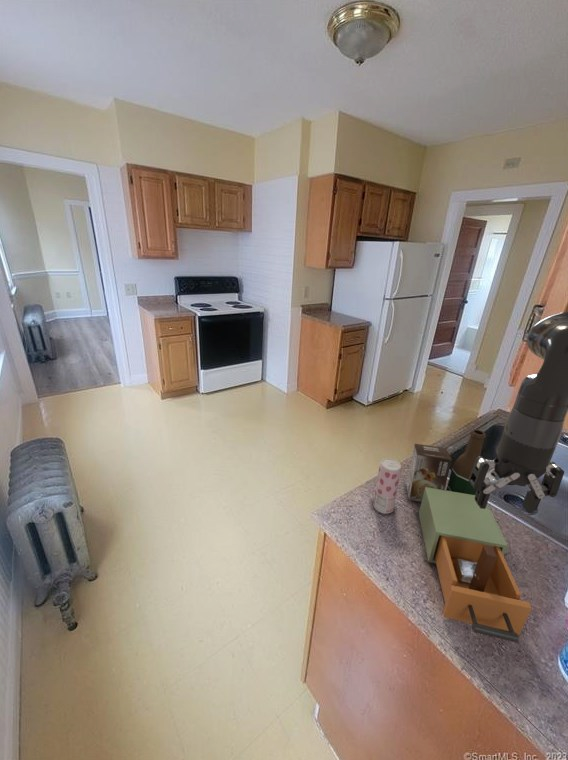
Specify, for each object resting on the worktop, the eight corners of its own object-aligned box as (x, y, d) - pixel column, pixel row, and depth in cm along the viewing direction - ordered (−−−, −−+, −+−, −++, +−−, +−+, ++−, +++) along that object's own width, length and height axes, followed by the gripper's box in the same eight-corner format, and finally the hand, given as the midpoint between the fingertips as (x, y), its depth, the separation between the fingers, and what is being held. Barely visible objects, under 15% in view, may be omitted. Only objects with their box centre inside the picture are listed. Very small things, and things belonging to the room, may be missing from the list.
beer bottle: (457, 490, 100) (476, 422, 91) (479, 507, 93) (502, 436, 84) (438, 496, 97) (456, 427, 88) (459, 514, 91) (481, 442, 82)
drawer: (530, 664, 57) (545, 636, 54) (449, 643, 60) (458, 615, 57) (492, 568, 74) (501, 543, 71) (430, 555, 77) (437, 531, 74)
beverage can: (397, 510, 92) (406, 467, 86) (382, 517, 89) (390, 472, 84) (383, 497, 96) (391, 455, 91) (368, 503, 94) (375, 460, 88)
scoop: (476, 570, 72) (491, 527, 68) (487, 604, 66) (505, 558, 61) (454, 566, 73) (467, 523, 68) (463, 598, 66) (479, 553, 62)
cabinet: (496, 576, 73) (508, 545, 70) (428, 562, 76) (436, 532, 73) (475, 524, 87) (484, 496, 84) (418, 514, 90) (425, 486, 87)
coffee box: (436, 491, 99) (447, 447, 93) (441, 506, 94) (453, 460, 88) (405, 486, 101) (414, 442, 95) (408, 500, 96) (417, 454, 90)
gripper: (497, 443, 52) (473, 519, 59) (591, 450, 51) (556, 527, 57) (477, 421, 59) (457, 491, 65) (559, 426, 58) (531, 497, 64)
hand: (503, 507), depth 61 cm, fingers open, 8 cm apart
